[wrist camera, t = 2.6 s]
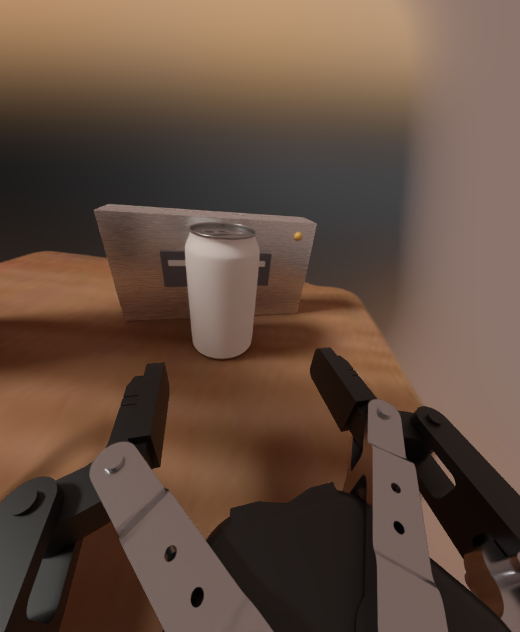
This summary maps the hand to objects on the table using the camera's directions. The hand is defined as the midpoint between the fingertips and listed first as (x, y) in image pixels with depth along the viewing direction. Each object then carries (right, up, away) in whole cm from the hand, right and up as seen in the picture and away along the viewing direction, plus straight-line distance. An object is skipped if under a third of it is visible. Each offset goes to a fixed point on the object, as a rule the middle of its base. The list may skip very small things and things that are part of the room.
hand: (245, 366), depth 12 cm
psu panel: (-5, +4, +19) cm, 20 cm away
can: (-3, 0, +13) cm, 14 cm away
